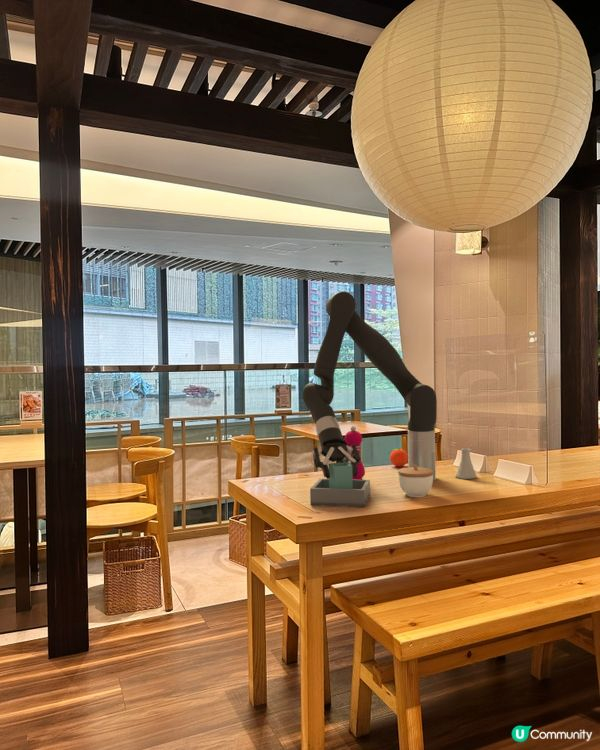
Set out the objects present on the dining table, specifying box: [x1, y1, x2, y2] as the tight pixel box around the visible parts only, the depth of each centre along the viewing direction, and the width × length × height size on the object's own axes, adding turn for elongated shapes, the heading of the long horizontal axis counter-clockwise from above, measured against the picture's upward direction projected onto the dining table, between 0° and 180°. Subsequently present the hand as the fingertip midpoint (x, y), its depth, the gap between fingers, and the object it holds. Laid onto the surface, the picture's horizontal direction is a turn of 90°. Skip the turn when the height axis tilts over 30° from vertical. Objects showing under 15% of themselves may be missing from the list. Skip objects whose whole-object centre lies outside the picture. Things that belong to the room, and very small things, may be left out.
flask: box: [455, 448, 477, 480], centre depth 210 cm, size 7×7×10 cm
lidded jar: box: [397, 465, 434, 498], centre depth 186 cm, size 11×11×9 cm
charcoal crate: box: [309, 478, 371, 508], centre depth 182 cm, size 16×14×5 cm
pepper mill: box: [344, 425, 366, 480], centre depth 202 cm, size 7×7×20 cm
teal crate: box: [328, 461, 353, 489], centre depth 182 cm, size 6×6×10 cm
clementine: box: [387, 448, 408, 468], centre depth 232 cm, size 8×7×7 cm
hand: (342, 476), depth 180 cm, fingers open, 8 cm apart
